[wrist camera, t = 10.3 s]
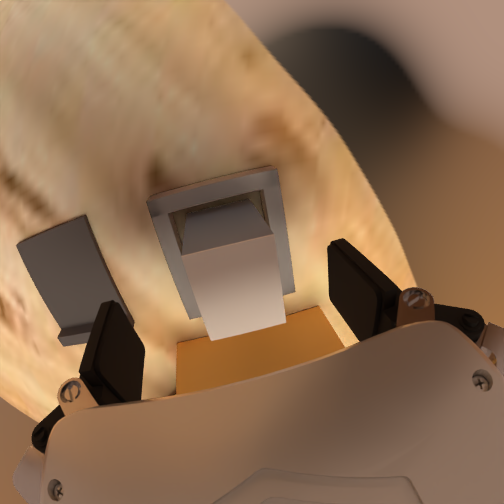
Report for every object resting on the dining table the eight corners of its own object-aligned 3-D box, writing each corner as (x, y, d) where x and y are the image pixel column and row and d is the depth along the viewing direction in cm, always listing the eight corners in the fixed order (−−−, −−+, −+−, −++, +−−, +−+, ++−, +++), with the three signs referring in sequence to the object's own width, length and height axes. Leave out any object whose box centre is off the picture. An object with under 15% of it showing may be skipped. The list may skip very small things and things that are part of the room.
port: (118, 206, 15) (75, 255, 9) (304, 159, 16) (364, 181, 10) (181, 351, 21) (182, 421, 15) (319, 314, 22) (355, 375, 16)
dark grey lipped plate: (18, 243, 14) (8, 251, 13) (85, 214, 15) (77, 222, 14) (68, 335, 19) (63, 346, 17) (134, 322, 19) (131, 334, 18)
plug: (186, 213, 17) (181, 257, 11) (249, 198, 17) (274, 234, 11) (205, 280, 19) (211, 341, 13) (261, 266, 19) (286, 322, 14)
